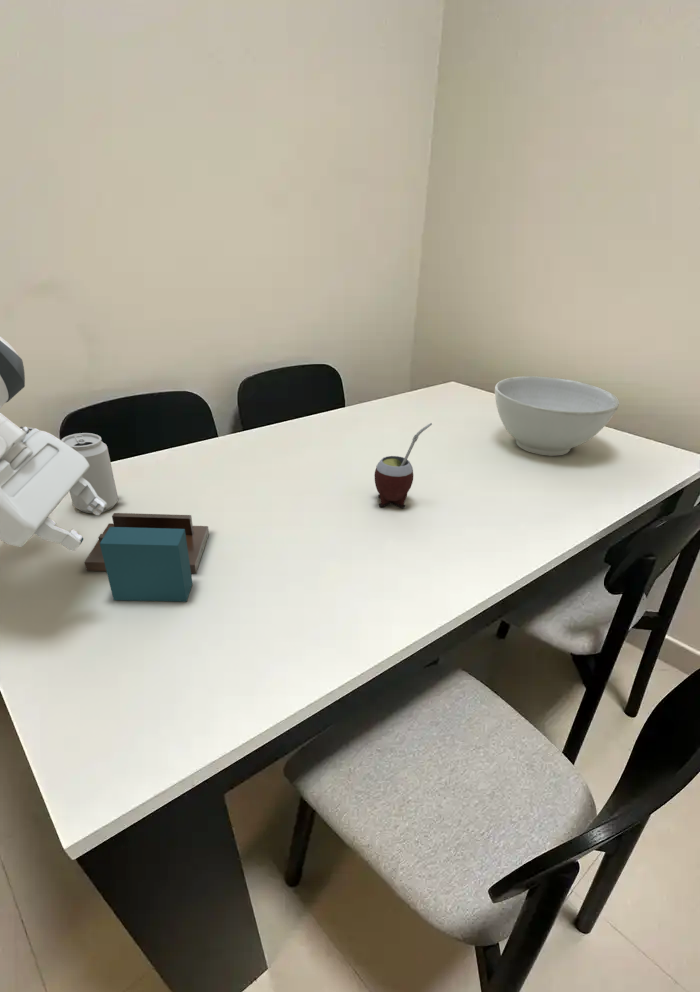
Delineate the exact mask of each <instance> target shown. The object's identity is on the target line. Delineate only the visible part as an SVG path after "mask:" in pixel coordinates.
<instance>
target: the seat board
mask: <svg viewBox="0 0 700 992" xmlns="http://www.w3.org/2000/svg"><path fill="white" fill-rule="evenodd" d="M111 518H112V523H111V522H110V523H108V524H107V526H106V527H105V529H104V530H103V532H102V533H100V535H99V536H98V540H97V542H96V543H95V545H94V546H93V548H92V550H91V551H90V553H89V554H88V556H87V557H86V559H85V560H84V566H85V570H86V571H87V572H107V571H106V567H105V563H104V559H103V555H102V551H101V547H100V542H101V541H102V539H103V537H104V536H105V534H106V532H107V531H108V529H109V528H110V527H132V528H169V529H185V534H186V541H187V548H188V555H189V562H190V569H191V574H197V572H198V568H199V565H200V562H201V559H202V556H203V554H204V551H205V547H206V544H207V541H208V538H209V535H210V529H209V526H208V525H193V519H192V514H168V513H132V512H131V513H130V512H129V513H128V512H113V514H112V515H111Z"/></svg>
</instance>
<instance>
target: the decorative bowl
mask: <svg viewBox="0 0 700 992" xmlns="http://www.w3.org/2000/svg"><path fill="white" fill-rule="evenodd" d="M494 399H495V406H496V409H497V413H498V416H499V418H500V420H501V423H502V425H503V426H504V428H505V429H506V431H507V432H508V434H510V435H511V436H512V437H513V438H514V439H515V443H516V445H517V446H518V448H521V449H522V450H524V451H526V452H528V453H532V454H536V455H541V456H550V457H551V456H552V457H553V456H563V455H566V454H568V453H569V452H570V451H571V449H574V448H576V447H578V446H580V445H582V444H585V443H586V442H588V441H590V440H591V439H592V438H593V437H595V436H596V435H597V434H599V432H601V431H602V430H603V429H604V428H605V426H606V425H608V423H609V422H610V421H611V419H612V418H613V416H614V415H615V414H616V412H617V410H618V409H619V407H620V400H619V399H618V397H617V396H616V395H615V394H614V393H612V392H610V391H608V390H606V389H604V388H601V387H599V386H596V385H593V384H590V383H586V382H583V381H577V380H573V379H567V378H562V377H561V378H560V377H553V376H540V375H539V376H538V375H537V376H536V375H535V376H534V375H526V376H523V375H522V376H512V377H508V378H504V379H501V380H499V381H498V382H497V383H496V384H495V386H494Z"/></svg>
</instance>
